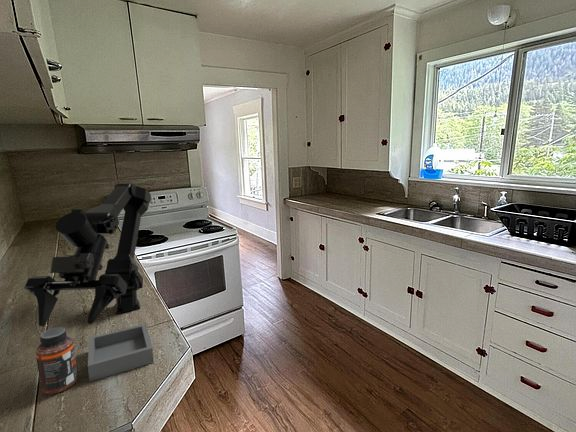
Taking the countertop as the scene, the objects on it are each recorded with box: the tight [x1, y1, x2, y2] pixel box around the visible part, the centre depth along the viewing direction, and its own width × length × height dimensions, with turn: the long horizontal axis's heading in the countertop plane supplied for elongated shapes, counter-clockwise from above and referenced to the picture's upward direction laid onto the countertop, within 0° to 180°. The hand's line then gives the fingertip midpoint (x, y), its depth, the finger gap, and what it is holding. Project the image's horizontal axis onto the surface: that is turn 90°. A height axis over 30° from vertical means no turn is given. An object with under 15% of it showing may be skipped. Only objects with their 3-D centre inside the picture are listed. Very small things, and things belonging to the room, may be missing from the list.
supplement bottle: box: [35, 327, 78, 395], centre depth 61 cm, size 6×6×11 cm
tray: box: [87, 323, 154, 382], centre depth 71 cm, size 12×12×4 cm
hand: (65, 325), depth 64 cm, fingers open, 9 cm apart
